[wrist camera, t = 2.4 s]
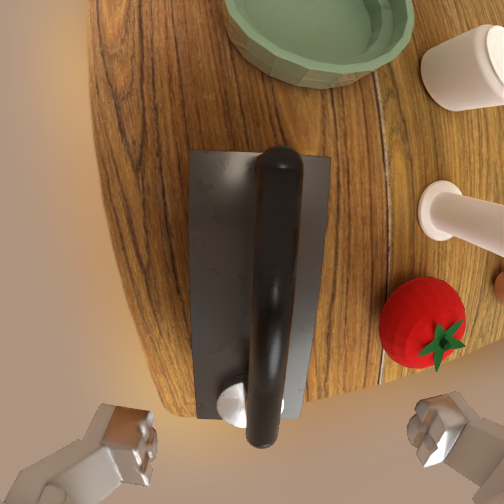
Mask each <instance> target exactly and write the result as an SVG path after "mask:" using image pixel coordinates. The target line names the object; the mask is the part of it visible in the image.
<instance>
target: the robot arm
mask: <svg viewBox="0 0 504 504" xmlns="http://www.w3.org/2000/svg"><path fill="white" fill-rule="evenodd" d="M415 412H416V414H415V415H414V416H413V417H412V418H411V419H410V420H409V423H408V425H407V436H408V440H409V441H410V443H411V445H413V446H415V447H417V452H416V454H417V456H418V458H419V459H420V462H421V463H422V465H423V467H426V466H429V465H433V464H436V463H439V462H443V461H444V463H445V464H447V465H448V466H450V467H451V468H453V469H454V470H456V471H457V472H459V473H461V474H462V475H463V476H465V477H466V478H468V479H469V480H471V481H472V482H474V483H475V484H477V485H478V486H480V489H479V490H478V491H477V492H476V493H475V494H474V496H473V498H472V499H473V501H474V503H475V504H504V426H502V425H500V424H498V423H495V422H492V421H491V420H488V419H486V418H482V419H481V418H480V417H479V416H478V414H477V413H476V412H475V411H474V410H473V408H472V407H471V406H470V405H469V404H468V402H467V401H466V400H465V399H464V398H463V396H462V395H461V394H460V393H458V392H456V391H455V392H451V393H448V394H444V395H440V396H436V397H431V398H427V399H422V400H420V401H419V402H418V403H417V404H416V406H415ZM152 424H153V416H152V412H150V411H146V410H139V409H133V408H127V407H121V406H113V405H108V404H103V403H102V404H101V405H100V406H99V407H98V409H97V411H96V413H95V415H94V417H93V419H92V421H91V423H90V425H89V427H88V430H87V432H86V434H85V436H84V438H83V440H79V439H78V440H76V441H74V442H72V443H71V444H69V445H67V446H65V447H64V448H62V449H60V450H58V451H56V452H55V453H53V454H51V455H49V456H47V457H46V458H44V459H42V460H40V461H39V462H36V463H35V464H33V465H31V466H29V467H27V468H25V469H23V470H21V471H20V472H19V474H18V476H17V478H16V480H15V481H14V483H13V485H12V487H11V489H10V491H9V493H8V495H7V497H6V499H5V501H4V502H2V501H0V504H99V503H100V502H101V501H102V500H103V499H104V498H106V497H107V496H108V495H109V494H110V493H111V492H112V491H114V490H115V489H116V488H117V487H118V486H119V485H120V484H121V482H123V483H129V484H135V485H142V486H149V484H150V480H151V475H152V471H153V469H152V466H151V461H153V460H154V459H155V458H156V453H157V434H156V430H155V429H154V428H153V427H152Z"/></svg>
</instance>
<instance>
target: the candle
mask: <svg viewBox="0 0 504 504" xmlns="http://www.w3.org/2000/svg"><path fill="white" fill-rule="evenodd" d="M418 220H419V224H420V227H421V229H422V230H423V232H424V233H425V234H426V235H427V236H428V237H430V238H432V239H434V240H437V241H444V240H447V239H449V238H451V237H452V236H456V237H458V238H460V239H463V240H465V241H468V242H470V243H472V244H475V245H477V246H479V247H482V248H484V249H486V250H488V251H491V252H493V253H495V254H497V255H500V256H502V257H504V205H501V204H497V203H493V202H489V201H484V200H480V199H476V198H472V197H467V196H463V195H462V193H461V192H460V190H459V189H458V187H457V186H456V185H454V184H453V183H451V182H449V181H444V180H440V181H436V182H433V183H431V184H430V185H429V186H428V187H427V188H426V189H425V190H424V192H423V193H422V195H421V197H420V200H419V204H418Z"/></svg>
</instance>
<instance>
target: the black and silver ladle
mask: <svg viewBox="0 0 504 504" xmlns="http://www.w3.org/2000/svg"><path fill="white" fill-rule="evenodd" d="M250 169H251V172H252V173H253V175H255V176H256V177H257V197H256V220H255V243H254V265H253V288H252V310H251V332H250V354H249V373H248V374H242V375H238V376H235V377H233V378H231V379H229V380H228V381H226V382H225V383H224V384H223V385H222V386H221V387H220V389H219V391H218V394H217V411H218V413H219V415H220V416H221V418H222V419H223V420H225V421H226V422H227V423H229V424H231V425H234V426H236V427H240V428H246V439H247V441H248V442H249V443H250V444H251V445H252V446H253V447H256V448H259V449H264V448H268V447H270V446H272V445H273V444H274V443H275V441H276V440H277V437H278V430H279V423H280V416H281V413H282V411H283V409H284V398H283V394H284V386H285V378H286V370H287V362H288V353H289V344H290V335H291V326H292V316H293V306H294V296H295V286H296V275H297V263H298V251H299V238H300V225H301V210H302V195H303V178H304V164H303V160H302V158H301V156H300V155H299V153H298V152H297V151H295V150H294V149H293V148H291V147H288V146H284V145H277V146H273V147H271V148H269V149H267V150H266V151H265V152H264V153H262V154H260V155H257V156H256V157H254V158H253V159H252V161H251V163H250Z"/></svg>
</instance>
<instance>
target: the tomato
mask: <svg viewBox="0 0 504 504" xmlns="http://www.w3.org/2000/svg"><path fill="white" fill-rule="evenodd" d="M465 327H466V319H465V308H464V306H463V303H462V301H461V299H460V297H459V295H458V293H457V292H456V291H455V290H454V289H453V288H452V287H451V286H450V285H449V284H448V283H446V282H445V281H443V280H440V279H436V278H433V277H422V278H415V279H412V280H410V281H408V282H406V283H404V284H402V285H401V286H400V287H399V288H397V289H396V290H395V291H394V292H393V293H392V294H391V296H390V297H389V298H388V300H387V301H386V302H385V305H384V307H383V310H382V312H381V314H380V321H379V334H380V339H381V344H382V346H383V348H384V349H385V351H386V352H387V354H388V355H389V357H390V358H391V359H392V360H394V361H395V362H397V363H399V364H401V365H403V366H404V367H407V368H417V369H421V368H426V367H429V366H433V365H435V369H436V372H437V370H438V368H439V366H440V363H441V361H442V360H444V359H445V358H446V357H448V356H449V355H450V354H451V353H452V352H453V351H454V349H457V348H462V347H465V345H464V344H463V343H462V342H461V339H462V337H463V334H464V331H465Z"/></svg>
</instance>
